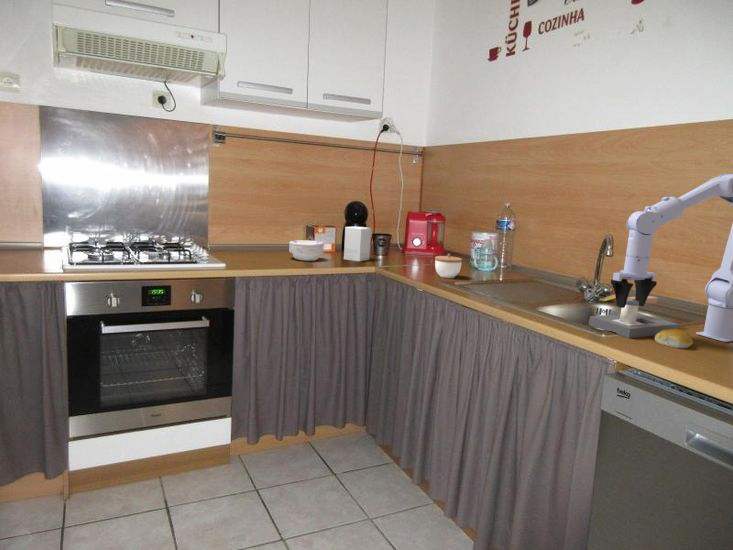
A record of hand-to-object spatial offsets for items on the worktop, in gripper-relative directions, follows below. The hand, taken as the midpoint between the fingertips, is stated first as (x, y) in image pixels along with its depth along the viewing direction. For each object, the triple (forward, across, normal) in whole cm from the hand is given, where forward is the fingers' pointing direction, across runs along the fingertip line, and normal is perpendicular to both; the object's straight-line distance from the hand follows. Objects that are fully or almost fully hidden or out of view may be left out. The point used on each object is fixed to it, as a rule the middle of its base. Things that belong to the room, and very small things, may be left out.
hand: (630, 306), depth 146 cm
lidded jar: (+7, +2, -82) cm, 82 cm away
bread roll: (+8, -2, +12) cm, 14 cm away
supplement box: (+7, +22, -126) cm, 129 cm away
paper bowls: (+7, +46, -128) cm, 137 cm away
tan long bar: (+1, -11, -6) cm, 12 cm away
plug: (+4, 0, 0) cm, 4 cm away
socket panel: (+7, -4, -2) cm, 9 cm away
